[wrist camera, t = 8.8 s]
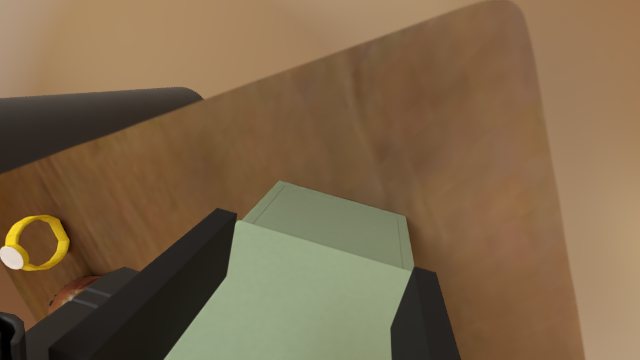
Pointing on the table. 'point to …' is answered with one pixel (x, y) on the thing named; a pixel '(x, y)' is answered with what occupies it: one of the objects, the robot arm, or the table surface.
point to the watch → (18, 256)
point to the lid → (295, 303)
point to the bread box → (335, 223)
